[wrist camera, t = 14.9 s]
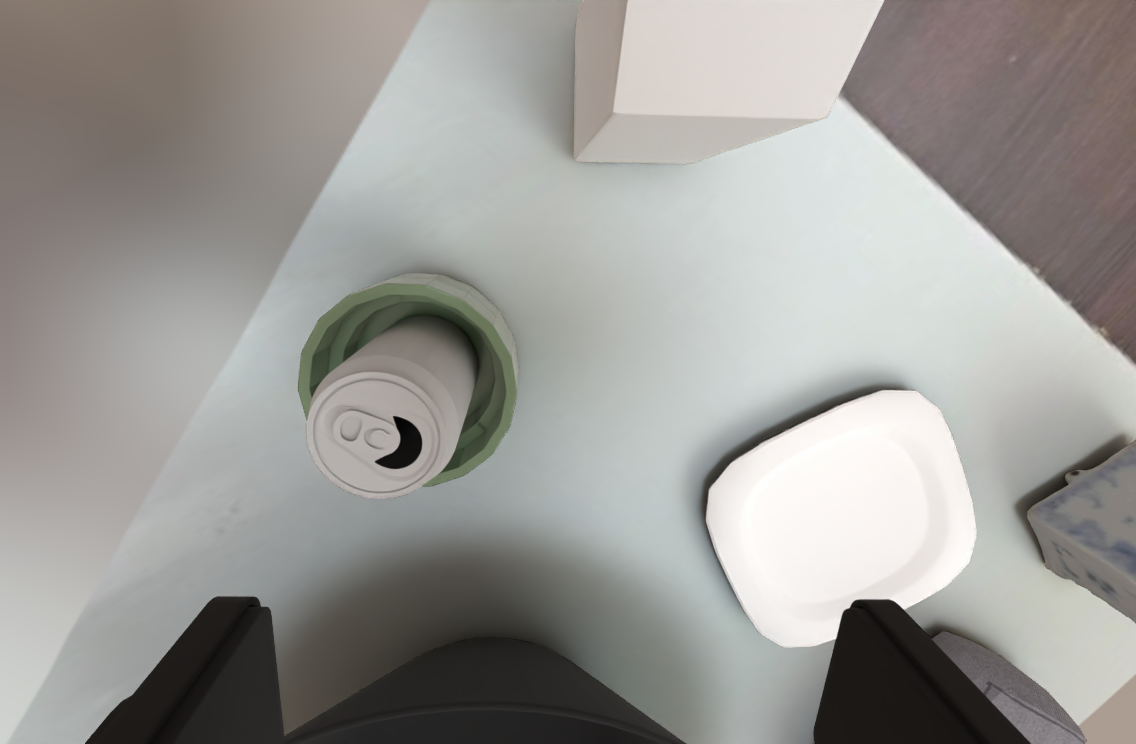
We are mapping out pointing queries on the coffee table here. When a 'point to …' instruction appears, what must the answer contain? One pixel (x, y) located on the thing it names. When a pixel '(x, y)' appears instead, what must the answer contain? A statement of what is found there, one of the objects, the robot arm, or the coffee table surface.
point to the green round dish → (439, 298)
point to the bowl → (484, 703)
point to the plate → (842, 515)
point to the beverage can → (394, 409)
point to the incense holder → (1094, 530)
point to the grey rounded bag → (1012, 692)
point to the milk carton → (707, 73)
